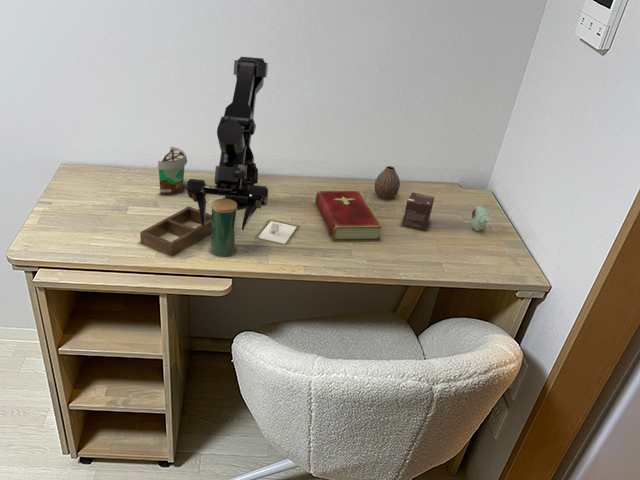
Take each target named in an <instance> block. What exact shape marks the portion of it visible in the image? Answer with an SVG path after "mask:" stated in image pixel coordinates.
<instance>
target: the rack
mask: <svg viewBox="0 0 640 480" xmlns="http://www.w3.org/2000/svg"><path fill="white" fill-rule="evenodd" d="M189 220H190V221H192V222H196V223H198V224H200V225H198V226H196V227H195V228H194V227H191V226H188V225H186V224H183V223H186V222H187V221H189ZM211 227H212V213H211V214H210V213H208V212H206V214H205V224H204V226H202V223H201V217H200V211H199V209H197V208H194V207H192V206H186V207H185V208H183V209H181V210H179V211H178V212H176V213H175V212H174V214H172V215H170V216H168V217H166V218H164V219H162V220H161V221H158V222H157V223H155V224H153V225H150V226H149V227H147V228H145V229H143V230H141V231H140V232H139V234H140V236H139V237H140V244H141V245H144V246H147V247H149V248H151V249H154V250H156V251H158V252H161V253H163V254H166V255H168V256H171V257H173V256H174V255H176V254H178V253H179V252H181V251H183V250H184V249H186V248H188V247H190V246H191V245H193V244H194V243H196V242H197V241H199V240H201V239H203V238H204V237H206V236H207V235H210V234H211ZM167 232H168V233H170V234H173V235H175V236H178V237H177V238H175V239H173V240H172V241H170V240H167V239H165V238H162V237H160V236H162V235H164V234H165V233H167Z"/></svg>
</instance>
